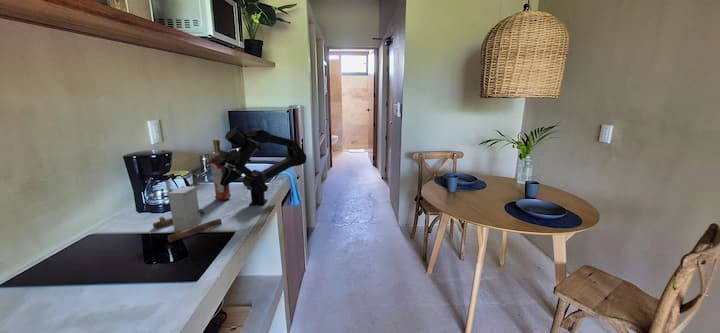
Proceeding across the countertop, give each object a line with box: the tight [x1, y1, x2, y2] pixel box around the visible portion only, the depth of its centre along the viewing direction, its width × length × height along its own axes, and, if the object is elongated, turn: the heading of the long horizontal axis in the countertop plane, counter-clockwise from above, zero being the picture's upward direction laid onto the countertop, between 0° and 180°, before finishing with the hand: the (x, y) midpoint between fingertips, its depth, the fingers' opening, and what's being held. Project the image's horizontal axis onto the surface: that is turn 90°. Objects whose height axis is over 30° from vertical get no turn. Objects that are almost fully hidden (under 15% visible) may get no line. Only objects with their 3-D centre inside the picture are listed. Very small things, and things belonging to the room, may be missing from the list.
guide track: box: [152, 208, 222, 243], centre depth 115 cm, size 18×16×4 cm
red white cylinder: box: [209, 138, 232, 201], centre depth 139 cm, size 7×7×28 cm
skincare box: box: [167, 186, 202, 231], centre depth 114 cm, size 8×6×15 cm
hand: (222, 185), depth 123 cm, fingers closed
